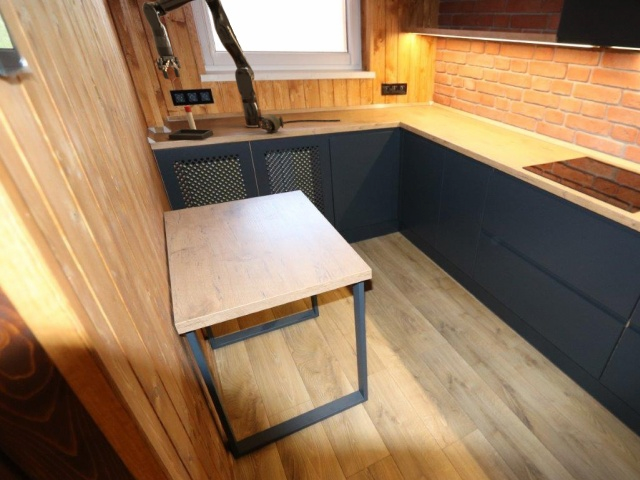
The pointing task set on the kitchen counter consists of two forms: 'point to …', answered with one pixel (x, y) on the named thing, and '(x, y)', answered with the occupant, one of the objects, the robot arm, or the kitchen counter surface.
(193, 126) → the marker
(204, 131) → the tray
